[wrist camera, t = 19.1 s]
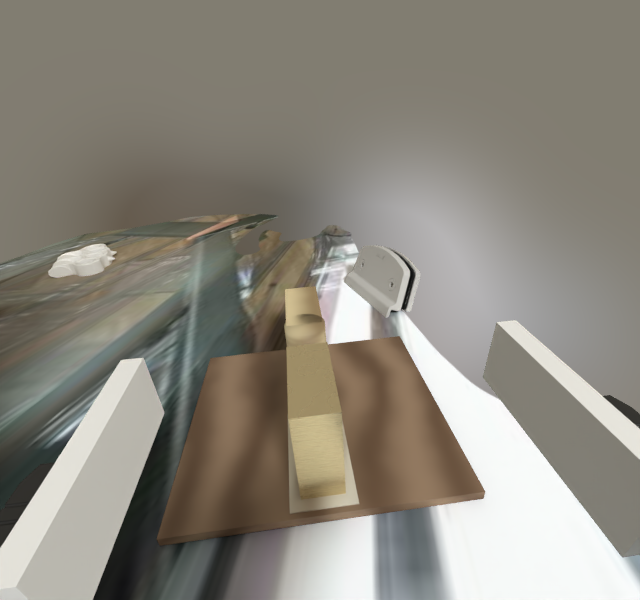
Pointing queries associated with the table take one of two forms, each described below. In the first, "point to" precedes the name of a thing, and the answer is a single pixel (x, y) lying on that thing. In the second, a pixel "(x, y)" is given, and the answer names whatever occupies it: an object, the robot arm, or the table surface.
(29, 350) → the table surface
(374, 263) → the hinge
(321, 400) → the tan wooden brick
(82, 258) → the white egg tray
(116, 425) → the robot arm
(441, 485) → the mounting board
